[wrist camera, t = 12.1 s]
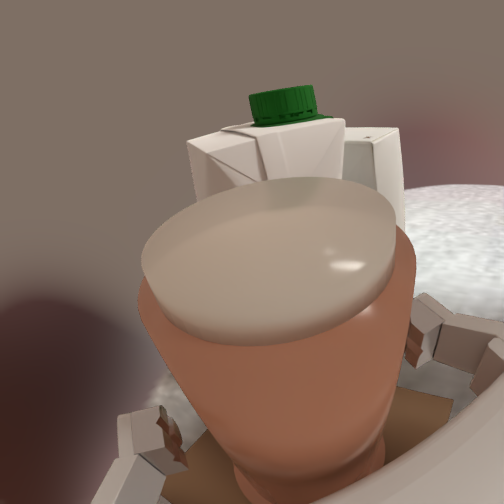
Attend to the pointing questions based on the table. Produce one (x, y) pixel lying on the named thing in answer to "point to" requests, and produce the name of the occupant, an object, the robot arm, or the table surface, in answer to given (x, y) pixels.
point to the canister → (285, 327)
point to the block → (222, 468)
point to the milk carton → (270, 144)
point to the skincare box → (376, 164)
